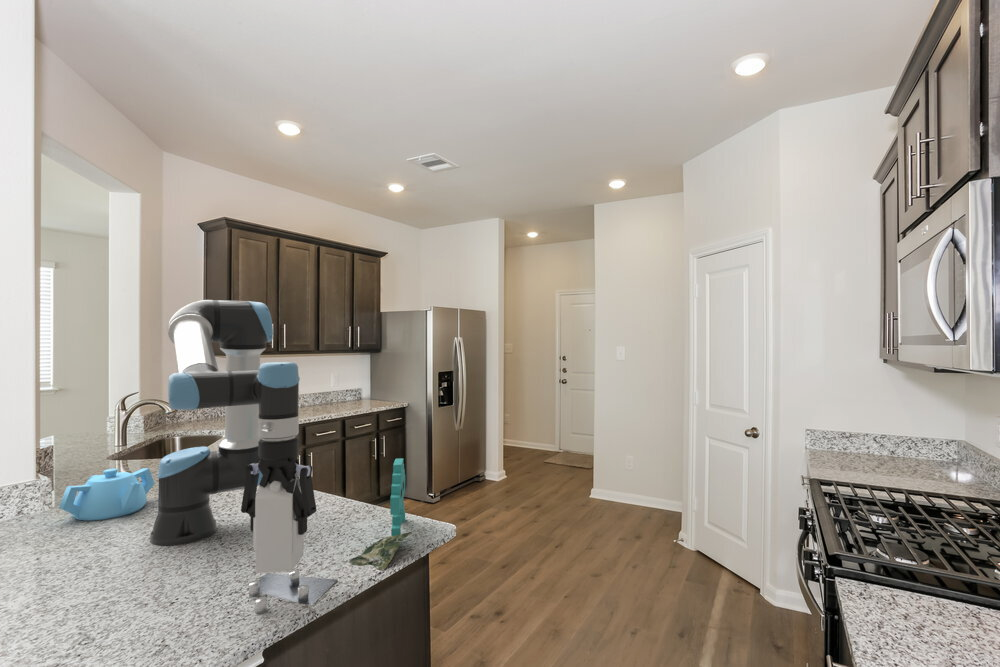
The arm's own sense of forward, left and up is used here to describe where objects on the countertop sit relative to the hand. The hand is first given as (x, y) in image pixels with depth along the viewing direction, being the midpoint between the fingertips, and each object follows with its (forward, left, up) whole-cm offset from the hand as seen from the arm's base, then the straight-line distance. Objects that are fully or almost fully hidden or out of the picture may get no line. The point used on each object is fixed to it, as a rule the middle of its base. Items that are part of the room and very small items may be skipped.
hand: (278, 548), depth 98 cm
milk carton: (0, +1, -4) cm, 4 cm away
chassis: (0, 0, -12) cm, 12 cm away
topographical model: (+10, +22, -12) cm, 27 cm away
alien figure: (+11, +38, -12) cm, 41 cm away
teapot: (-81, +37, -12) cm, 90 cm away
